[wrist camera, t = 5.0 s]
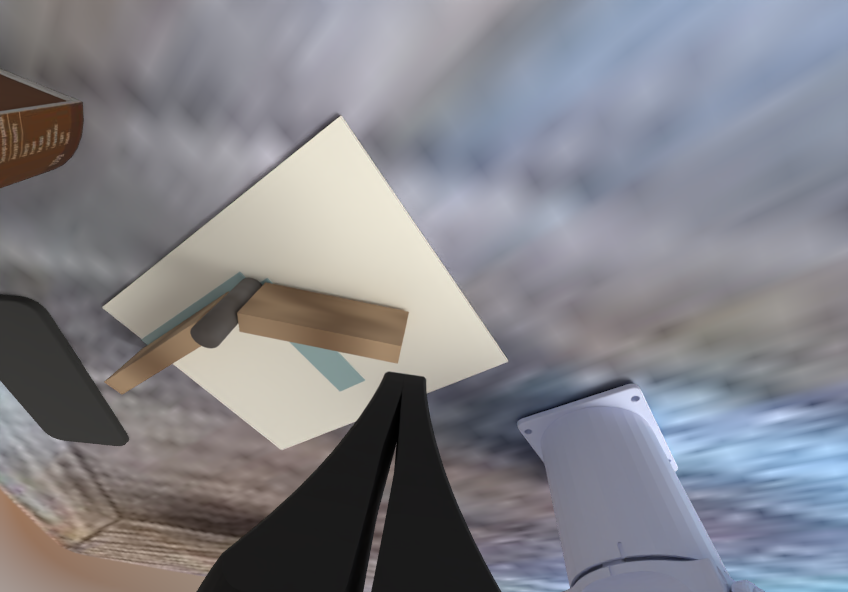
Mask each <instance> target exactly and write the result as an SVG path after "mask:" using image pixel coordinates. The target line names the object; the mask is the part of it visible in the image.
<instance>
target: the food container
mask: <svg viewBox="0 0 848 592" xmlns="http://www.w3.org/2000/svg"><path fill="white" fill-rule="evenodd" d="M83 121H84V118H83V102H81V101H79V100H76V99H74V98H71V97H69V96H66V95H64V94H61V93H59V92H57V91H54V90H52V89H49V88H47V87H44V86H42V85H39V84H37V83H34V82H32V81H29V80H27V79H24V78H22V77H19V76H17V75H14V74H12V73H10V72H7V71H5V70H2V69H0V188H2V187H5V186H8V185H11V184H14V183H17V182H19V181H22V180H25V179H28V178H31V177H34V176H37V175H39V174H42V173H45V172H48V171H51V170H54V169H56V168H58V167H60V166H62V165H64V164H65V163H66V162H67V161H68V160H69V159H70V158H71V157H72V156H73V154H74V153H75V151H76V149H77V148H78V145H79V142H80V139H81V136H82V130H83Z"/></svg>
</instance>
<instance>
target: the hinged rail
mask: <svg viewBox="0 0 848 592" xmlns="http://www.w3.org/2000/svg"><path fill="white" fill-rule="evenodd" d="M408 314H409V312H408V311H403V310H398V309H393V308H388V307H383V306H378V305H374V304H369V303H364V302H359V301H354V300H349V299H344V298H340V297H335V296H330V295H325V294H320V293H315V292H310V291H305V290H301V289H296V288H291V287H286V286H281V285H276V284H271V283H267V282H265V283H264V284H263V286H262V284H261V283H260V282H259V281H257V280H256V279H253V278H244V279H242V280H241V281H240V282H239V283H238V284H237V285H236V286H235V287H234V288H233V289H232V290H231V291H230V292H229V293H228V294H227V295H226V296H224V297H223V298H222V299H221V300H220V301H219V302H218V303H217V304H216V305H215V306H214V307H213V308H212V309H211V310H210V311H209V312H208V313H207V314H206V315H204V316H203V317H202V318H201V319H200V320H199V321H198V322H197V323H196V324H195V325H194V326H193V327H192V328H191V330H190V334H191V337H192V338H193V340H194V341H195V342H196V343H198V344H199V345H201V346H203V347H206V348H216V347H218V346H219V345H220V344H221V343H222V341H223V340H224V339H225V338H226V337H227V336H228V335H229V334H230V332H231V331H232V330H233V329H234V328H235V327H236V326H237V324H239V332H243V333H248V334H253V335H258V336H263V337H268V338H273V339H278V340H283V341H288V342H293V343H298V344H303V345H308V346H313V347H318V348H323V349H327V350H332V351H337V352H342V353H347V354H352V355H357V356H362V357H367V358H372V359H377V360H382V361H387V362H392V363H397V364H398V361H399V356H400V352H401V347H402V343H403V338H404V334H405V329H406V324H407V319H408Z"/></svg>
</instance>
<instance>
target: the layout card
mask: <svg viewBox="0 0 848 592" xmlns="http://www.w3.org/2000/svg"><path fill="white" fill-rule="evenodd" d="M244 278H253V279H256V280H257V281H259V282H260V283H261V284H262V286H263V284H264V283H265V282H267V283H271V284H276V285H281V286H286V287H291V288H296V289H301V290H305V291H310V292H315V293H320V294H325V295H330V296H335V297H340V298H344V299H349V300H354V301H359V302H364V303H369V304H374V305H378V306H383V307H388V308H393V309H398V310H403V311H408V312H409V314H408V319H407V324H406V329H405V334H404V338H403V343H402V347H401V352H400V356H399V361H398V364H397V363H392V362H387V361H382V360H377V359H372V358H367V357H362V356H357V355H352V354H347V353H342V352H337V351H332V350H327V349H323V348H318V347H313V346H308V345H303V344H298V343H293V342H288V341H283V340H278V339H273V338H268V337H263V336H258V335H253V334H248V333H243V332H239V324H237V326H236V327H235V328H234V329H233V330H232V331H231V332H230V334H229V335H228V336H227V337H226V338H225V339H224V340H223V341H222V343H221V344H220V345H219V346H218V347H216V348H206V347H203V346H201V347H199V348H197V349H196V350H194V351H192V352H191V353H189V354H188V355H186V356H184V357H183V358H181V359H179V360H178V361H176V362H174V363H173V364H174V365H175V366H176V367H177V368H179V369H180V370H181V371H182V372H184V373H185V374H186V375H187V376H189V377H190V378H191V379H193V380H194V381H195V382H196V383H198V384H199V385H200V386H201V387H203V388H204V389H205V390H206V391H208V392H209V393H210V394H211V395H213V396H214V397H215V398H216V399H218V400H219V401H220V402H221V403H223V404H224V405H225V406H226V407H228V408H229V409H230V410H232V411H233V412H234V413H235V414H237V415H238V416H239V417H240V418H242V419H243V420H244V421H245V422H247V423H248V424H249V425H250V426H252V427H253V428H254V429H255V430H257V431H258V432H259V433H260V434H262V435H263V436H264V437H265V438H267V439H268V440H269V441H271V442H272V443H273V444H274V445H276V446H277V447H278V448H279V449H281V450H283V449H286V448H289V447H291V446H294V445H296V444H299V443H301V442H304V441H307V440H309V439H312V438H314V437H317V436H319V435H322V434H324V433H327V432H330V431H332V430H335V429H337V428H340V427H342V426H345V425H348V424H350V423H353V422H355V421H357V420H358V418H359V417H360V415H361V414H362V412H363V411H364V409H365V408H366V406H367V405H368V403H369V402H370V400H371V399H372V397H373V395H374V394H375V392H376V390H377V388H378V387H379V385H380V383H381V381H382V379H383V376H384V374H385V373H386V372H388V371H390V372H397V373H403V374H410V375H417V376H424V377H425V378H426V391H427V393H430V392H432V391H435V390H437V389H440V388H442V387H445V386H447V385H450V384H453V383H455V382H458V381H460V380H463V379H465V378H468V377H471V376H473V375H476V374H478V373H481V372H483V371H486V370H488V369H491V368H494V367H496V366H499V365H501V364H504V363H506V362H508V359H507V358H506V356H505V355H504V353H503V352H502V350H501V349H500V347H499V346H498V344H497V343H496V341H495V340H494V338H493V337H492V336H491V334H490V333H489V331H488V330H487V328H486V327H485V325H484V324H483V322H482V321H481V319H480V318H479V316H478V315H477V314H476V312H475V311H474V309H473V308H472V306H471V305H470V303H469V302H468V300H467V299H466V297H465V296H464V294H463V293H462V292H461V290H460V289H459V287H458V286H457V284H456V283H455V281H454V280H453V278H452V277H451V275H450V274H449V272H448V271H447V270H446V268H445V267H444V265H443V264H442V262H441V261H440V259H439V258H438V256H437V255H436V253H435V252H434V250H433V249H432V248H431V246H430V245H429V243H428V242H427V240H426V239H425V237H424V236H423V234H422V233H421V231H420V230H419V228H418V227H417V226H416V224H415V223H414V221H413V220H412V218H411V217H410V215H409V214H408V212H407V211H406V209H405V208H404V206H403V205H402V204H401V202H400V201H399V199H398V198H397V196H396V195H395V193H394V192H393V190H392V189H391V187H390V186H389V184H388V183H387V182H386V180H385V179H384V177H383V176H382V174H381V173H380V171H379V170H378V168H377V167H376V165H375V164H374V162H373V161H372V160H371V158H370V157H369V155H368V154H367V152H366V151H365V149H364V148H363V146H362V145H361V143H360V142H359V140H358V139H357V138H356V136H355V135H354V133H353V132H352V130H351V129H350V127H349V126H348V124H347V123H346V121H345V120H344V118H343V117H342V116H340V117H338V118H337V119H336V120H335V121H334V122H332V123H331V124H330V125H329V126H327V127H326V128H325V129H324V130H322V131H321V132H320V133H319V134H317V135H316V136H315V137H314V138H312V139H311V140H310V141H309V142H307V143H306V144H305V145H304V146H302V147H301V148H300V149H299V150H297V151H296V152H295V153H294V154H292V155H291V156H290V157H289V158H287V159H286V160H285V161H284V162H282V163H281V164H280V165H279V166H277V167H276V168H275V169H274V170H273V171H271V172H270V173H269V174H268V175H266V176H265V177H264V178H263V179H261V180H260V181H259V182H258V183H256V184H255V185H254V186H253V187H251V188H250V189H249V190H248V191H246V192H245V193H244V194H243V195H241V196H240V197H239V198H238V199H236V200H235V201H234V202H233V203H231V204H230V205H229V206H228V207H226V208H225V209H224V210H223V211H221V212H220V213H219V214H218V215H216V216H215V217H214V218H213V219H212V220H210V221H209V222H208V223H207V224H205V225H204V226H203V227H202V228H200V229H199V230H198V231H197V232H195V233H194V234H193V235H192V236H190V237H189V238H188V239H187V240H185V241H184V242H183V243H182V244H180V245H179V246H178V247H177V248H175V249H174V250H173V251H172V252H170V253H169V254H168V255H167V256H165V257H164V258H163V259H162V260H160V261H159V262H158V263H157V264H155V265H154V266H153V267H152V268H151V269H149V270H148V271H147V272H146V273H144V274H143V275H142V276H141V277H139V278H138V279H137V280H136V281H134V282H133V283H132V284H131V285H129V286H128V287H127V288H126V289H124V290H123V291H122V292H121V293H119V294H118V295H117V296H116V297H114V298H113V299H112V300H111V301H109V302H108V303H107V304H106V305H104V306H103V307H102V308H103V309H104V310H106V311H107V312H108V313H109V314H111V315H112V316H113V317H115V318H116V319H117V320H118V321H120V322H121V323H122V324H123V325H125V326H126V327H127V328H128V329H130V330H131V331H132V332H133V333H135V334H136V335H137V336H138V337H140V338H141V340H142V341H143V342H144V343H145V344H147V345H149V344H150V343H152V342H153V341H155V340H156V339H158V338H159V337H161V336H162V335H164V334H165V333H167V332H168V331H170V330H171V329H173V328H174V327H176V326H177V325H179V324H180V323H182V322H183V321H184V320H186V319H187V318H189V317H190V316H192V315H193V314H195V313H196V312H198V311H199V310H201V309H202V308H204V307H205V306H207V305H208V304H210V303H211V302H213V301H214V300H216V299H217V298H219V297H220V296H222V295H223V294H225V293H226V292H228V291H229V292H230V291H231V290H232V289H233V288H234V287H235V286H236V285H237V284H238V283H239V282H240V281H241V280H242V279H244Z"/></svg>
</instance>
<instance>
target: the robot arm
mask: <svg viewBox="0 0 848 592" xmlns="http://www.w3.org/2000/svg"><path fill="white" fill-rule="evenodd" d="M633 396H634V397H633ZM517 427H518V429H519V431H520V432H521V433H522V435H523V436H524V437H525V439H526V440H527V441H528V443H529V444H530V445H531V447H532V448H533V449H534V450H535V452H536V453H537V454H538V456H539V457H540V458H541V460H542V461H543V462H544V464H545V469H546V473H547V478H548V483H549V488H550V493H551V498H552V503H553V507H554V512H555V517H556V522H557V527H558V532H559V536H560V541H561V546H562V551H563V556H564V561H565V566H566V570H567V575H568V580H569V585H570V589H568V590H566V591H563V592H765V591H763V590H762V589H760V588H758V587H757V586H756V585H755V584H753V583H752V582H750V581H748V580H742V581H737V582H735V581H734V580H733V579H732V578H731V577H730V576H729V574H728V572H727V570H726V568H725V566H724V564H723V562H722V560H721V559H720V557H719V555H718V553H717V551H716V549H715V547H714V545H713V543H712V541H711V540H710V538H709V536H708V534H707V532H706V530H705V528H704V526H703V524H702V522H701V521H700V519H699V517H698V515H697V513H696V511H695V509H694V507H693V505H692V503H691V502H690V500H689V498H688V496H687V494H686V492H685V490H684V488H683V486H682V484H681V483H680V481H679V479H678V477H677V475H676V473H675V471H677V469H678V466H677V464H676V462H675V460H674V458H673V456H672V454H671V451H670V449H669V447H668V445H667V443H666V441H665V439H664V437H663V435H662V433H661V431H660V429H659V427H658V424H657V422H656V420H655V418H654V416H653V414H652V412H651V410H650V408H649V406H648V404H647V402H646V400H645V397H644V395H643V393H642V391H641V389H640V388H639V386H638V385H636V384H627V385H624V386H621V387H618V388H615V389H611V390H608V391H605V392H602V393H599V394H596V395H593V396H590V397H587V398H584V399H581V400H577V401H574V402H571V403H568V404H565V405H562V406H559V407H556V408H553V409H550V410H547V411H544V412H540V413H537V414H534V415H531V416H528V417H525V418H522V419H520V420H518V422H517ZM396 443H397V445H396ZM395 447H396V457H395V469H394V476H393V482H392V487H391V492H390V498H389V503H388V509H387V514H386V519H385V524H384V530H383V535H382V540H381V545H380V550H379V556H378V561H377V566H376V571H375V576H374V581H373V586H372V591H371V592H501V590H500V589H499V587H498V585H497V583H496V582H495V580H494V578H493V576H492V574H491V572H490V571H489V569H488V567H487V565H486V563H485V561H484V559H483V557H482V555H481V553H480V551H479V549H478V547H477V545H476V543H475V541H474V540H473V537H472V535H471V533H470V531H469V529H468V526H467V524H466V522H465V520H464V518H463V515H462V513H461V511H460V509H459V506H458V504H457V502H456V499H455V497H454V494H453V492H452V489H451V486H450V484H449V481H448V478H447V476H446V473H445V470H444V467H443V464H442V461H441V457H440V454H439V451H438V447H437V444H436V440H435V436H434V432H433V428H432V423H431V419H430V414H429V408H428V401H427V391H426V378H425V377H424V376H417V375H410V374H403V373H397V372H390V371H388V372H386V373H385V374H384V376H383V379H382V381H381V383H380V385H379V387H378V388H377V390H376V392H375V394H374V395H373V397H372V399H371V400H370V402H369V403H368V405H367V406H366V408H365V409H364V411H363V412H362V414H361V415H360V417H359V418H358V420H357V421H356V422H355V424H354V425H353V426H352V428H351V429H350V430H349V432H348V433H347V434H346V435H345V437H344V438H343V439H342V441H341V442H340V443H339V444H338V446H337V447H336V448H335V449H334V450H333V451H332V453H331V454H330V455H329V456H328V457H327V458H326V459H325V461H324V462H323V463H322V464H321V465H320V466H319V467H318V468H317V469H316V470H315V471H314V472H313V473H312V474H311V476H310V477H309V478H308V479H307V480H306V481H305V482H304V483H303V484H302V485H301V486H300V487H299V488H298V489H297V490H296V491H295V492H294V493H293V494H292V495H290V496H289V497H288V498H287V499H286V500H285V501H284V502H283V503H282V504H280V505H279V506H278V507H277V508H276V509H275V510H274V511H273V512H272V513H271V514H269V515H268V516H267V517H266V518H265V519H264V520H263V521H261V522H260V523H259V524H258V525H257V526H255V527H254V528H253V529H252V530H251V531H249V532H248V533H247V534H246V535H244V536H243V537H242V538H241V539H239V540H238V541H237V542H236V543H234V544H233V545H232V546H231V547H229V548H228V549H227V550H226V551H224V552H223V553H222V554H221V556H220V557H219V558H218V560H217V561H216V563H215V564H214V565H213V567H212V568H211V570H210V571H209V573H208V574H207V576H206V577H205V579H204V581H203V582H202V584H201V585H200V587H199V589H198V591H197V592H363V589H364V584H365V578H366V573H367V567H368V562H369V556H370V551H371V545H372V540H373V534H374V529H375V524H376V519H377V515H378V510H379V506H380V502H381V499H382V495H383V491H384V488H385V484H386V480H387V476H388V473H389V469H390V465H391V462H392V458H393V454H394V450H395Z"/></svg>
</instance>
